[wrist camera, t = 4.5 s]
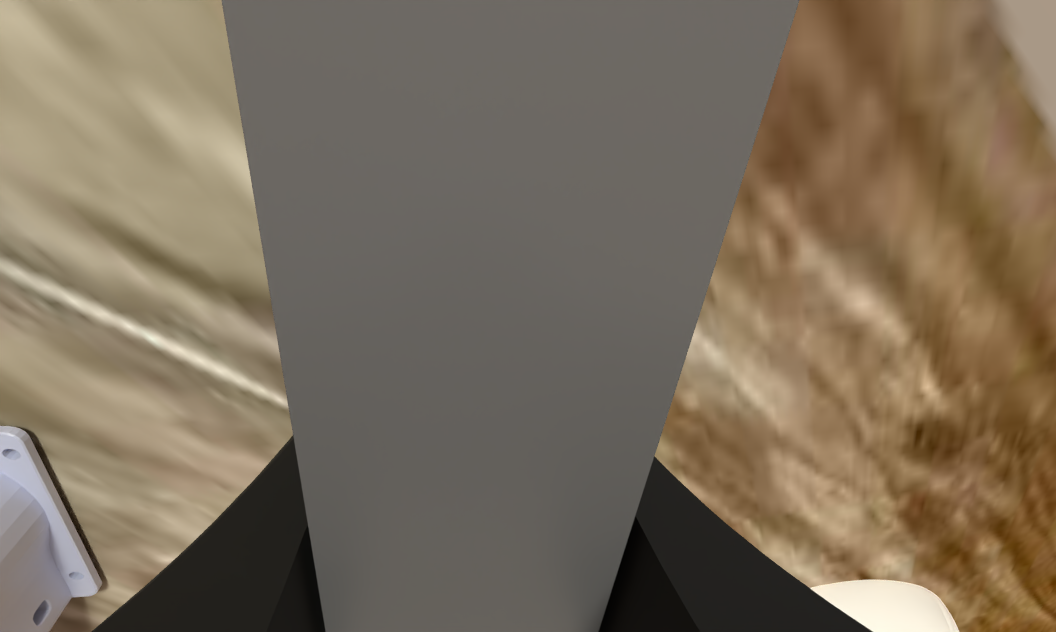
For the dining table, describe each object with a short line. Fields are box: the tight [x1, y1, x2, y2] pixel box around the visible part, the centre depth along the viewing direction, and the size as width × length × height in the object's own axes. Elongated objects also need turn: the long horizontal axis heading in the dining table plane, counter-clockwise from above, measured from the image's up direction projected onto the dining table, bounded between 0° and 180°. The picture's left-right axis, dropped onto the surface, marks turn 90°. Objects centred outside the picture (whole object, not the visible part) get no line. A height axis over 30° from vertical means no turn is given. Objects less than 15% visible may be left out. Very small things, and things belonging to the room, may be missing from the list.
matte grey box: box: [222, 0, 799, 632], centre depth 9 cm, size 15×4×6 cm, turn 174°
